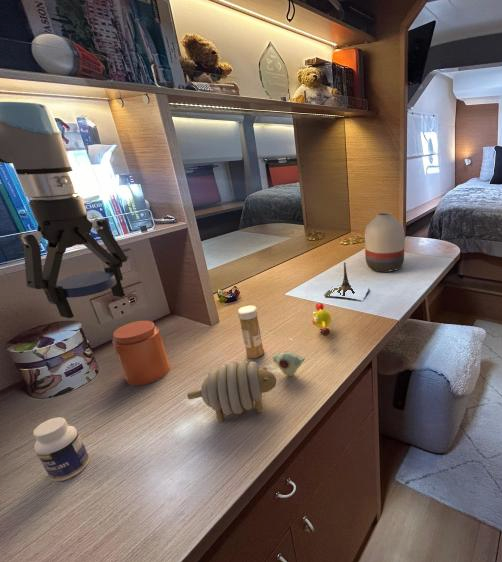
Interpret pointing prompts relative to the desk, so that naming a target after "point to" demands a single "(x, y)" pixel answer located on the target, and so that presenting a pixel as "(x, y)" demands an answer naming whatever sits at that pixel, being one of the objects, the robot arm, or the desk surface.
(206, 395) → the toy sheep
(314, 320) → the toy figure
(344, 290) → the eiffel tower figurine
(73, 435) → the pill bottle
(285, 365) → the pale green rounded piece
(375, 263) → the vase
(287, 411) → the desk surface
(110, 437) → the desk surface
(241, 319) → the sprinkles bottle
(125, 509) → the desk surface
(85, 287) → the jar lid
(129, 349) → the jar
